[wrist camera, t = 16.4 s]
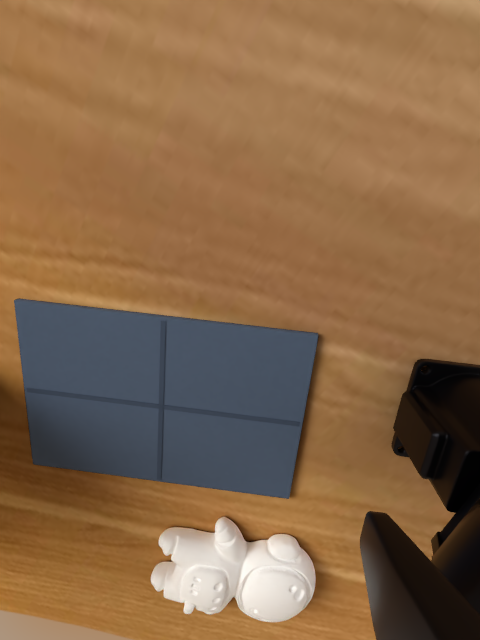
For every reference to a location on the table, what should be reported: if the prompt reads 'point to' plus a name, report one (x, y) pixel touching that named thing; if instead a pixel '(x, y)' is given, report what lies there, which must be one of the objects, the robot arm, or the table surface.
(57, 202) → the table surface
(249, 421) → the napkin
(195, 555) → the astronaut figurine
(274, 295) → the table surface
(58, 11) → the table surface
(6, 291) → the table surface
